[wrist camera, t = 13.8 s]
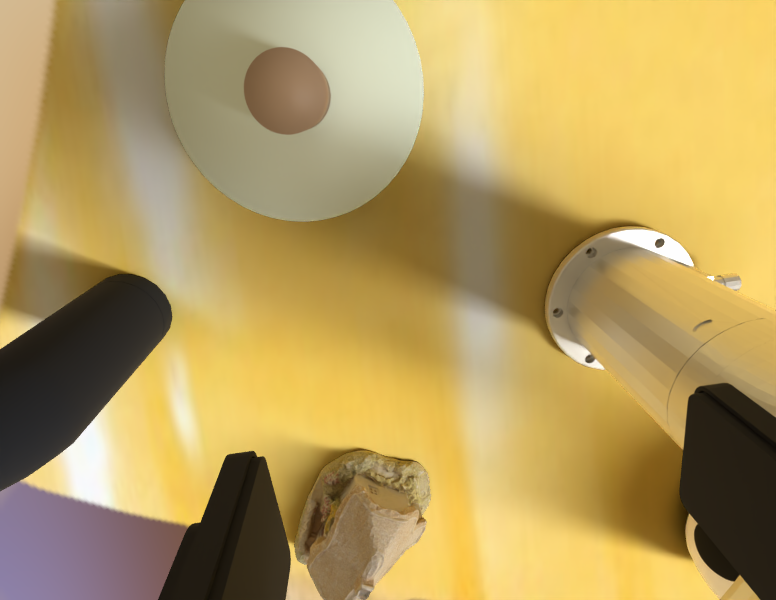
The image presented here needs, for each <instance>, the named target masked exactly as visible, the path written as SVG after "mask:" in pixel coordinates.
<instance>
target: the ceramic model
mask: <svg viewBox="0 0 776 600" xmlns="http://www.w3.org/2000/svg"><path fill="white" fill-rule="evenodd" d="M430 500H431V494H430V487H429V477H428V474H427V472H426V471H425V469H424V468H423V467H422V465H420V464H419V463H417V462H413V461H404V460H403V461H402V460H398V459H394V458H390V457H385V456H382V455H380V454H378V453H375V452H372V451H368V450H359V451H354V452H349V453H347V454H344V455H342V456H340V457H339V458H337V459H335V460H333V461H332V462H330V463H329V464H327V465H326V466H325V467H323V469H322V470H321V472H320V474H319V476H318V478H317V480H316V482H315V484H314V486H313V488H312V490H311V492H310V494H309V495H308V499H307V501H306V504H305V507H304V509H303V512H302V515H301V518H300V523H299V526H298V533H297V535H296V540H295V541H294V542H295V544H294V547H295V553H296V558H297V560H298V561H299V562H301V563H302V564H304V565H307V568H308V571H309V573H310V576H311V578H312V580H313V582H314V584H315V586H316V588H317V590H318V592H319V594H320V596H321V597H322V598H323V599H324V600H366V599H367V598H368V597H369V594H370V593H371V591H372V590H373V589H374V587H375V585H376V584H377V583H378V582H379V581H380V580H381V578H382V577H383V576H384V575H385V574H386V573H387V572H388V571H389V570H390V569H391V568H392V566H393V565H394V564H395V563H396V561H397V560H398V559H399V558H400V557H401V556H402V555H403V554H404V552H405V550H407V549H409V548H410V547H411V546H413V545H414V544H416V543H417V542H418V541H419V539H420V537H421V536H422V534H423V532H424V531H425V526H426V523H427V522H426V520H425V519H424V518H422V515H423V513H424V512H425V510H426V509H427V507H428V506H429V502H430Z"/></svg>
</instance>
